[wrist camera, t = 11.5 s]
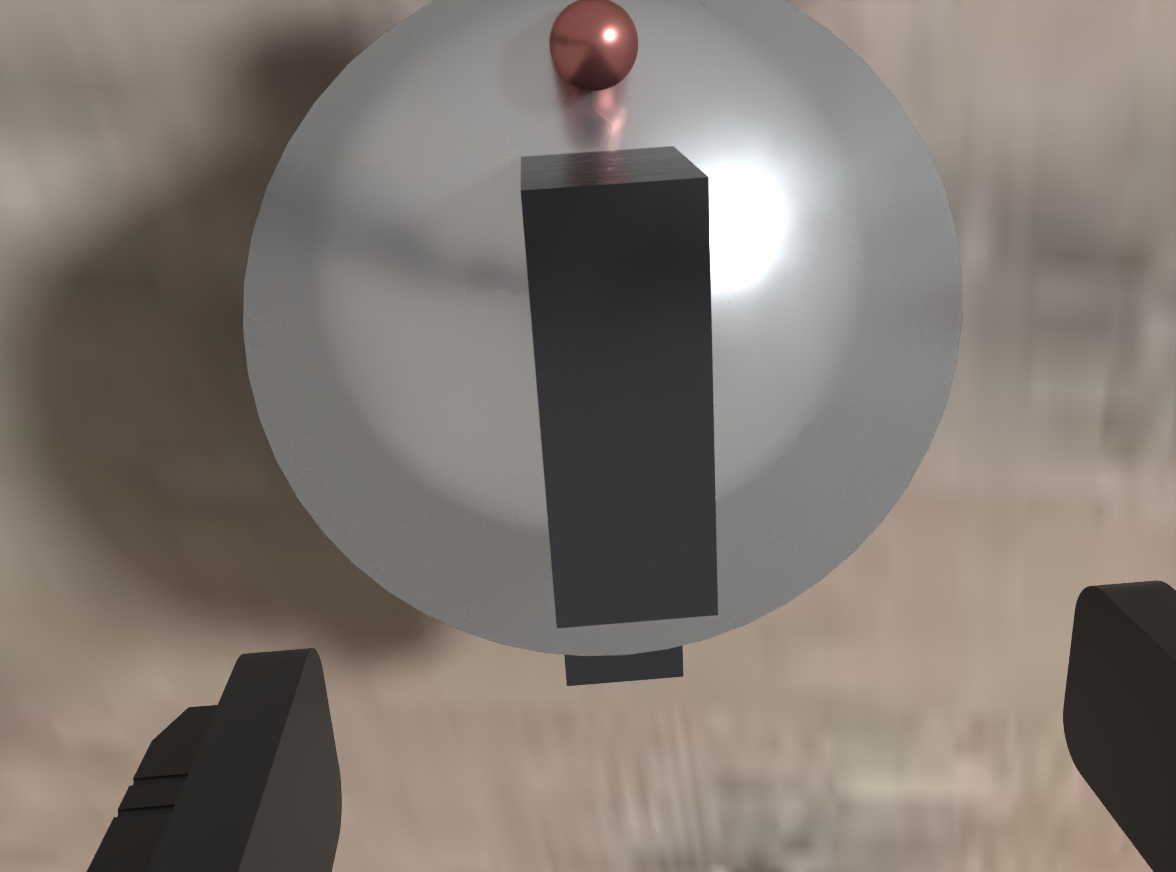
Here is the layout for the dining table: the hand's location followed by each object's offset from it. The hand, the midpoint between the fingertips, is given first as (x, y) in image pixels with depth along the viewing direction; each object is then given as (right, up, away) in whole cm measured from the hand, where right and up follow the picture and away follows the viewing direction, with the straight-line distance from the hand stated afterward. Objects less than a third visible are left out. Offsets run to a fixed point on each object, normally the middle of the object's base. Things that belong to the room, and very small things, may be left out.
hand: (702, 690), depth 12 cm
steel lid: (-1, +5, +13) cm, 14 cm away
